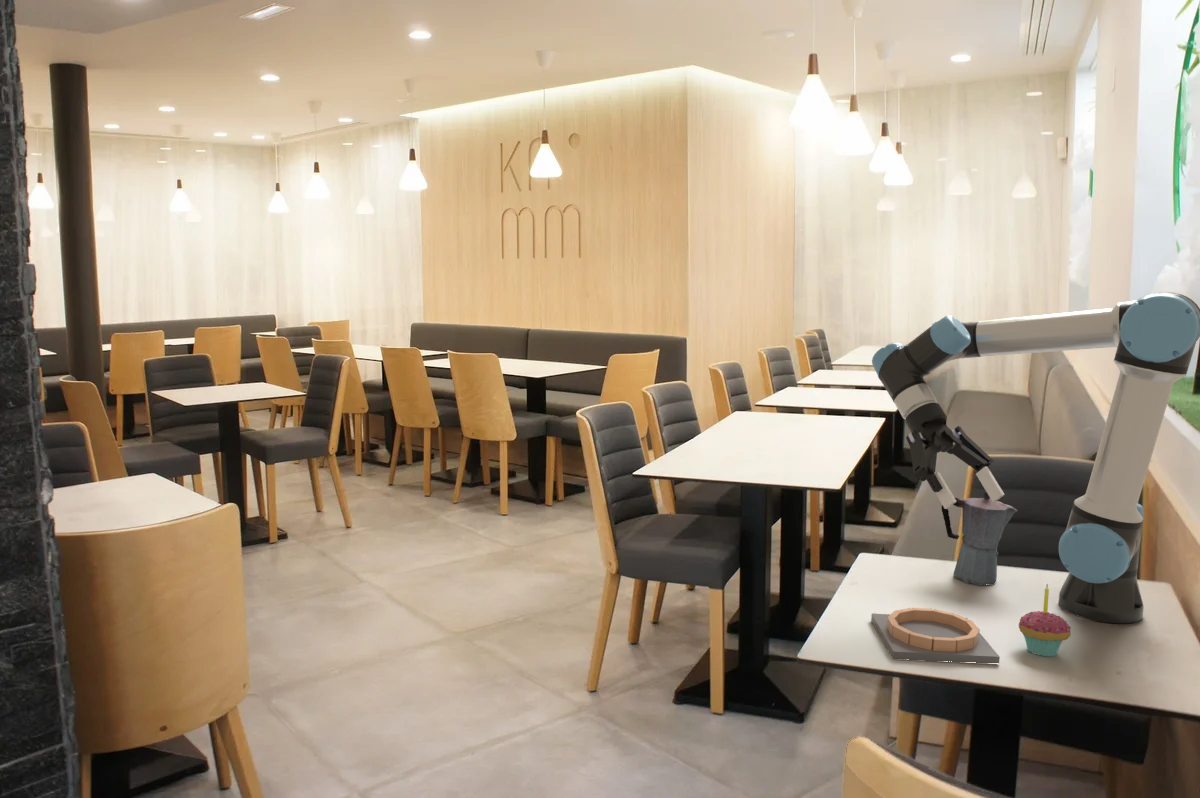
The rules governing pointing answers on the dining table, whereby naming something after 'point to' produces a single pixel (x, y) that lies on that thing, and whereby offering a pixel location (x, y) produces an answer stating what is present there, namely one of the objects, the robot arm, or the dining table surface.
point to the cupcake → (1044, 630)
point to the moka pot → (979, 537)
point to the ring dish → (932, 636)
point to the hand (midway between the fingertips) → (975, 501)
